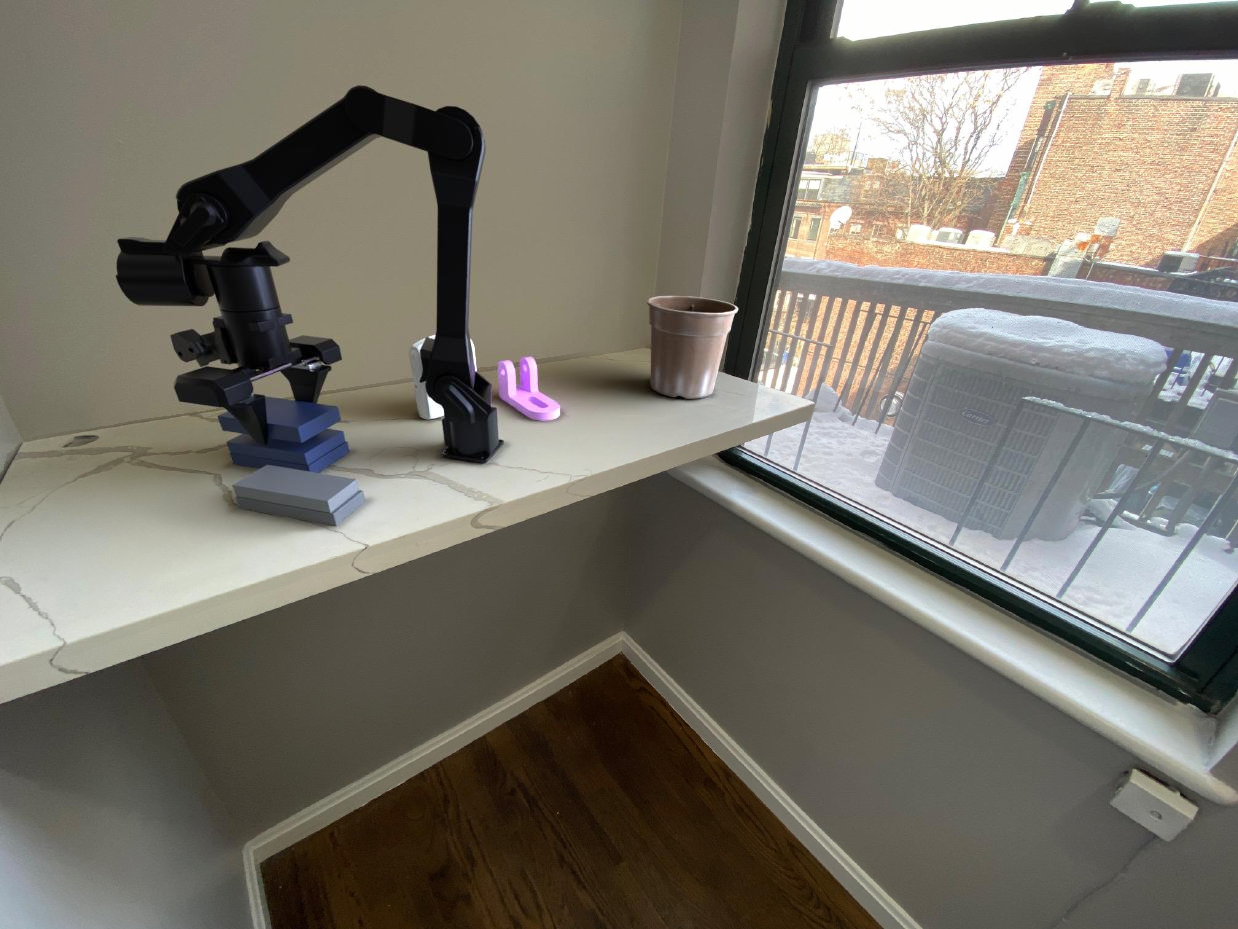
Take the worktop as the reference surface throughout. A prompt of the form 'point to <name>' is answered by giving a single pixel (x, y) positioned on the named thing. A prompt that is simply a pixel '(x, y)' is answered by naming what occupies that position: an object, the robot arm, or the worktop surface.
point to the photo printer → (424, 402)
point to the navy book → (289, 419)
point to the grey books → (299, 494)
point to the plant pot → (687, 343)
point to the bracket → (525, 390)
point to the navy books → (290, 451)
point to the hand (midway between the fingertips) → (286, 432)
